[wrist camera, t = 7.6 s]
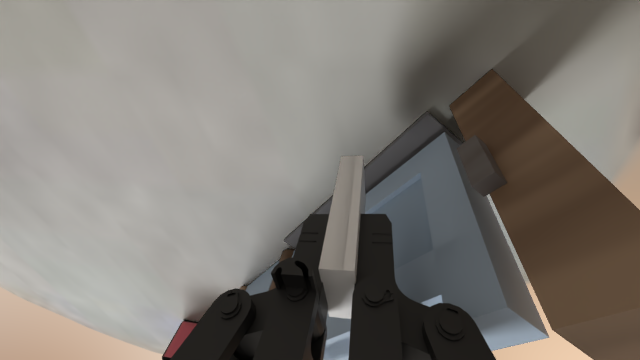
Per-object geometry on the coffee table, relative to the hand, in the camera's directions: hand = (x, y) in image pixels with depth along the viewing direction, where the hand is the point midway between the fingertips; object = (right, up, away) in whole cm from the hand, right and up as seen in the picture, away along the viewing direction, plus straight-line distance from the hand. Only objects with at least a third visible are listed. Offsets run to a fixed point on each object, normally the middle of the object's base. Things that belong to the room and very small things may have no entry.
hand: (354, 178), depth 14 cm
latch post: (+7, +4, 0) cm, 8 cm away
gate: (+1, -2, +5) cm, 5 cm away
